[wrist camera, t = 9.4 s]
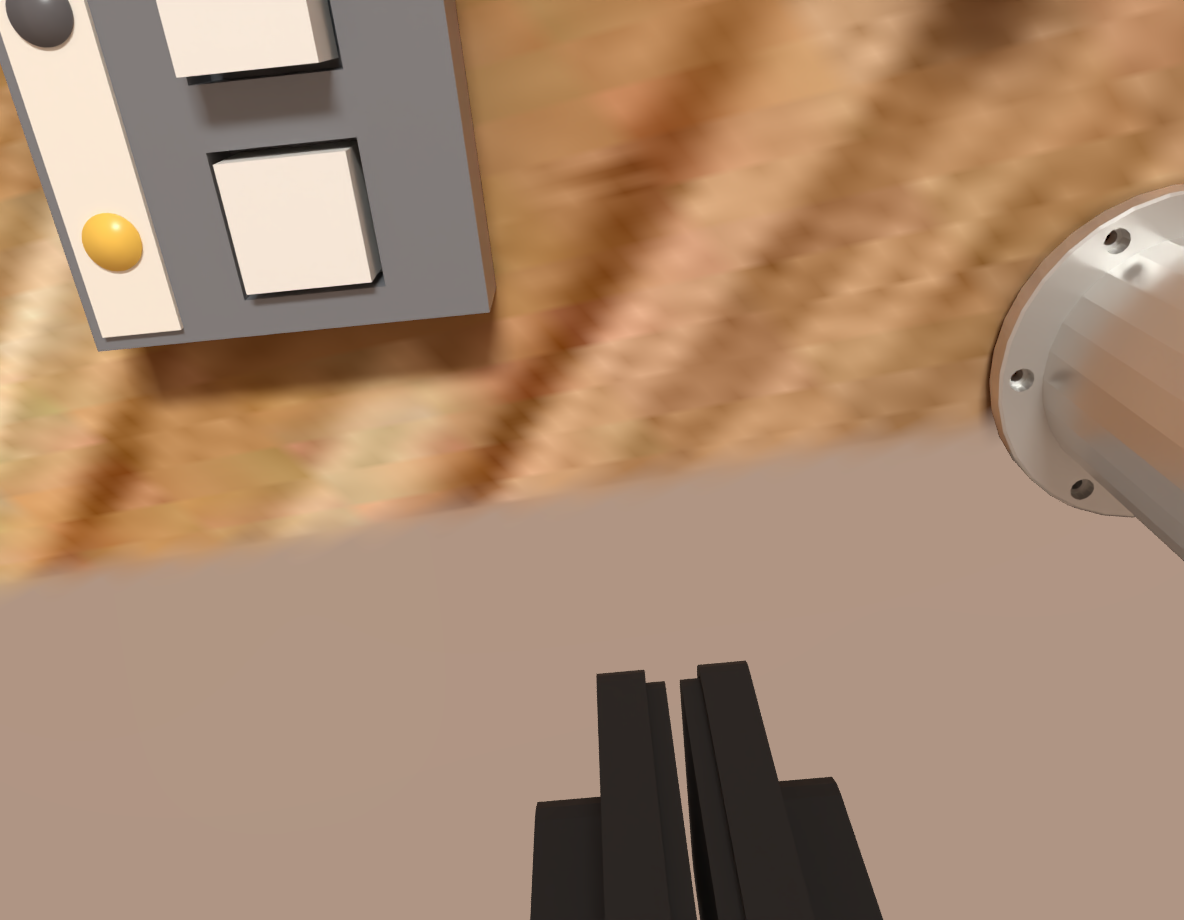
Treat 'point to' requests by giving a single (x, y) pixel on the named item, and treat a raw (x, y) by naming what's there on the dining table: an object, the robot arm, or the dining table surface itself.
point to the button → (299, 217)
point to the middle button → (245, 34)
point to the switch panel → (233, 125)
